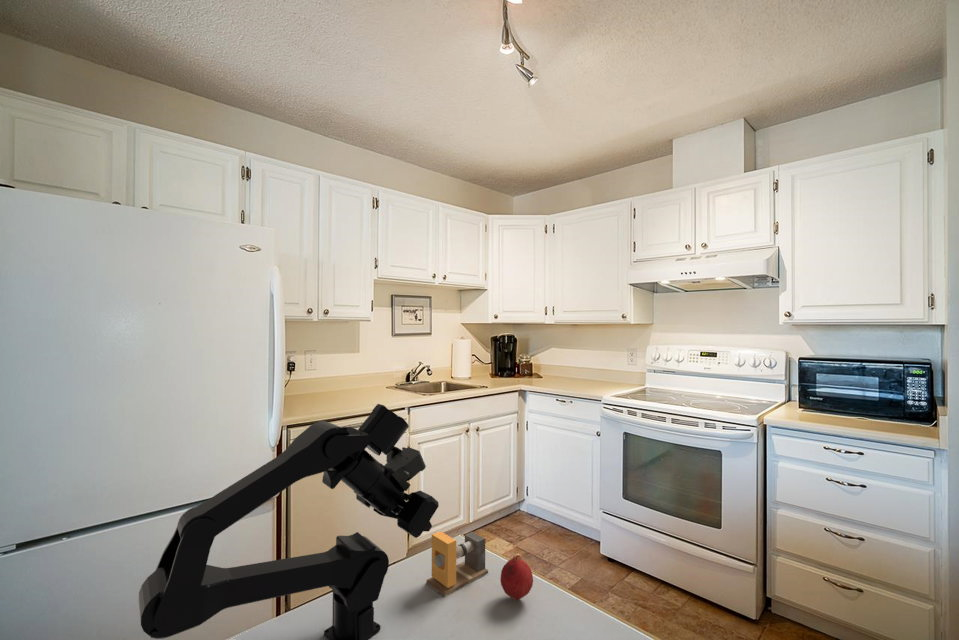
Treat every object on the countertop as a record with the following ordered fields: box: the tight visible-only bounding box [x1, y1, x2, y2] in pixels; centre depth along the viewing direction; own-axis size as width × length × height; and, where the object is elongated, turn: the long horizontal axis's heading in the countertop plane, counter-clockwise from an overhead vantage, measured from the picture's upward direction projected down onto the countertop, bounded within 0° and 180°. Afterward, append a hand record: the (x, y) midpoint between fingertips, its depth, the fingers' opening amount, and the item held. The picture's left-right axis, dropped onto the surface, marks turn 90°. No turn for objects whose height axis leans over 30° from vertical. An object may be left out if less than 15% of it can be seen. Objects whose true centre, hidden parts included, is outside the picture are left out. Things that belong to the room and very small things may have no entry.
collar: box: [431, 531, 457, 588], centre depth 80 cm, size 2×5×8 cm, turn 43°
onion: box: [499, 553, 534, 601], centre depth 76 cm, size 6×6×8 cm
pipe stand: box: [425, 531, 489, 597], centre depth 83 cm, size 11×6×6 cm, turn 133°
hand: (422, 524), depth 77 cm, fingers open, 4 cm apart
